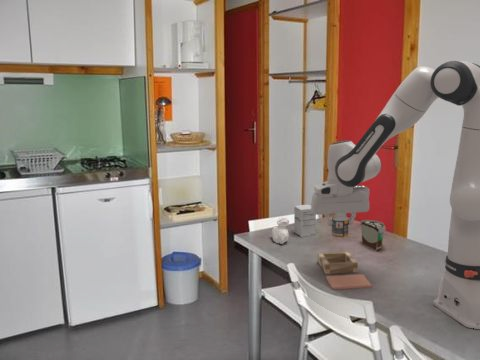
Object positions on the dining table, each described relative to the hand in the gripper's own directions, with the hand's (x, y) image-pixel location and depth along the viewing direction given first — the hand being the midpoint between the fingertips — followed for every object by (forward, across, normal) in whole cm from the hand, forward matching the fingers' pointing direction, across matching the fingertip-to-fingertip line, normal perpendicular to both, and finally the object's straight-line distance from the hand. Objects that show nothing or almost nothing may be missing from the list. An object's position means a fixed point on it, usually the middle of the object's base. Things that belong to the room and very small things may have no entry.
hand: (340, 224), depth 167 cm
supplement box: (+16, +5, -41) cm, 45 cm away
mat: (+17, 0, +12) cm, 21 cm away
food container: (+17, -20, -21) cm, 34 cm away
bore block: (+17, 0, -2) cm, 17 cm away
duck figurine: (+16, +17, -33) cm, 40 cm away
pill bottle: (+5, 0, 0) cm, 5 cm away
